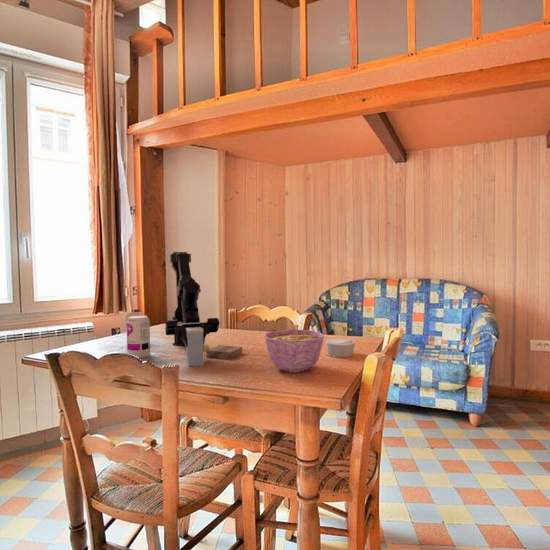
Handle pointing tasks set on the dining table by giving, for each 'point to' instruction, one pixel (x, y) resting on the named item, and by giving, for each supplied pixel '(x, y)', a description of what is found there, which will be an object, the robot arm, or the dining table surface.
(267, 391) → the dining table surface
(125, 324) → the character mug
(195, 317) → the robot arm
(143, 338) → the supplement can
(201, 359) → the tin
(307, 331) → the bowl of food
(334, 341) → the ramekin
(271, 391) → the dining table surface
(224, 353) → the brown square tray
